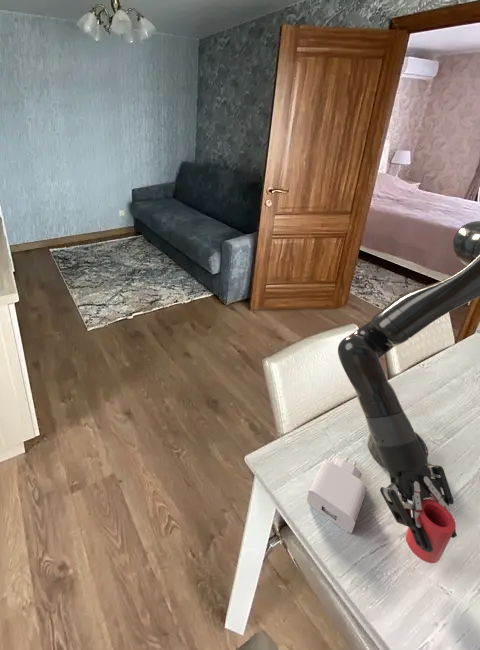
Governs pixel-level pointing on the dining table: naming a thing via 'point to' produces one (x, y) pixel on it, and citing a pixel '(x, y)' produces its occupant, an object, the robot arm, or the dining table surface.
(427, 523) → the red cup
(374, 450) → the pan
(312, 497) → the charger
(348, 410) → the dining table surface
